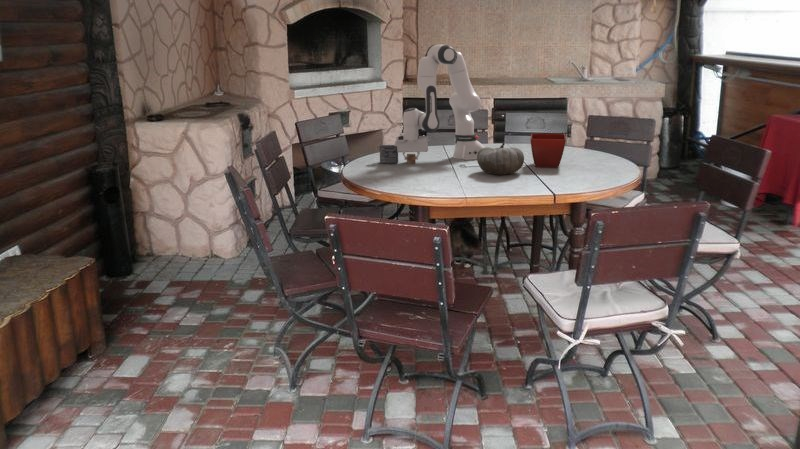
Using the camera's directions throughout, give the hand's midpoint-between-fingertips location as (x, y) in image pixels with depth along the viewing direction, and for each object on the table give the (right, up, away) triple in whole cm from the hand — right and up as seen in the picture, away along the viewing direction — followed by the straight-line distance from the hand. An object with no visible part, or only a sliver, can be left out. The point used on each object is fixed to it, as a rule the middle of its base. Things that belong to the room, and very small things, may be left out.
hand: (411, 159), depth 410 cm
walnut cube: (0, -2, +1) cm, 2 cm away
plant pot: (+77, -5, -14) cm, 79 cm away
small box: (-13, -2, +1) cm, 13 cm away
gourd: (+47, -11, -32) cm, 58 cm away
